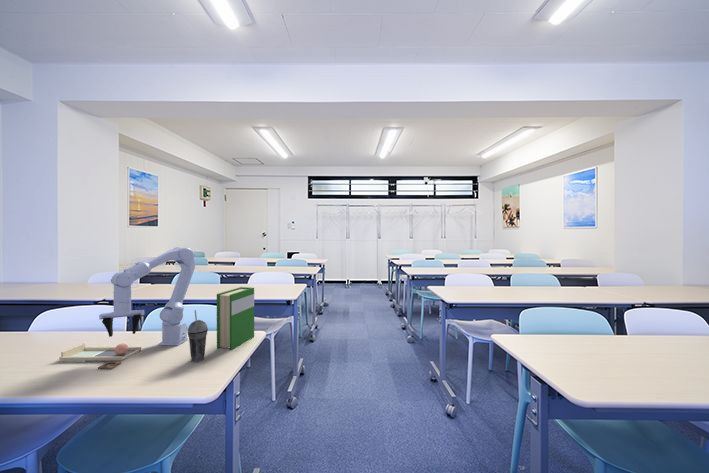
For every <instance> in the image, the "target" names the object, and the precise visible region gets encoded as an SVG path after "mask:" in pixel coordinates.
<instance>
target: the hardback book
mask: <svg viewBox="0 0 709 473" xmlns="http://www.w3.org/2000/svg"><path fill="white" fill-rule="evenodd" d="M253 338H255V287H243V286H239V287H236V288H233V289H229V290H226V291H223V292H218V293H216V350H219V348H220V349H222V348H227V349H229V351H233V350H235V349H236V348H238V347H240V346H242V345H243V344H245V343H247V342H249V340H251V339H253Z"/></svg>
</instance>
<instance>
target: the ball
mask: <svg viewBox="0 0 709 473" xmlns="http://www.w3.org/2000/svg"><path fill="white" fill-rule="evenodd" d="M115 347H116V348H115V353H116V354H117V355H123V354H125V353H126V352H127V351H128V347H129V346H128V344H126V343H119V344H117V345H116V346H115Z"/></svg>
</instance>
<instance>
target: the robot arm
mask: <svg viewBox="0 0 709 473" xmlns="http://www.w3.org/2000/svg"><path fill="white" fill-rule="evenodd" d="M195 256H196V254H195V252H194V251H193V250H192V249H191V248H190V247H174V248H172V249H168V250H167V251H165V252H164V253H161V254H160V255H157V256H156V257H154V258H153V259H151V260H149V261H147V262H144V261H137V262H135V263H134V265H132V266H130V267H128V268H123V271H118V272H115V273H114V274H113V276H112V277H111V279H110V283H111V284H112V285H113V293H112V294H113V311H111V312H105V313H104V312H103V313H100V314H99V315H98V317H99V320H100V321H101V320H102V321H101V322H102V324H103V326H104V327H105V329H106V331H107V333H108V337H109V338H110V337H113V335H114V331H113V330H114V329H113V328H114V327H113V325H114V324H113V323H114V319H115V318H126V317H132V318H131V320H132V335H135V334H136V332H137V328H138V325H139V322H140V320H141V318H142V316H144V315H145V309H133V310H132V285H133V283H134V282H135V281H137V280H139V279H141V278H142V277H145V276H146V275H148V274H150V273H151V271H152V269H154V268H156V267H158V266H160V265H163V264H164V263H167V262H169V261H175V263H177V264H178V265H179V267H180V268H181V269H180V271H179V274H178V276H177V280H176V283H175V285H174V288H173V290H172V293H171V297H170V299H169V301H168V302H167V303H166V304H165V305H164V307H163V308H162V309H161V310H160V313H159V319H160V320H161V321H162V323H161V335H162V337H161V342H160V343H157V346H179V345H182V343H184V342H186V341H188V339H189V337H188V333H187V332H188V326H187V324H186V323H183V322H182V321H183V318H184V309H185V308H184V304H183V302H184V300H185V296H186V294H187V291H188V288H189V286H190V283H191V281H192V280H191V279H192V277H193V274H194V272H195V269H196V264H195Z"/></svg>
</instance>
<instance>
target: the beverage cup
mask: <svg viewBox="0 0 709 473" xmlns="http://www.w3.org/2000/svg"><path fill="white" fill-rule="evenodd" d="M194 317H195V320H194V321H192V322H191V323H190V324H189V326H188V327H187V338H188V339H189V340H188V341H189V353H190V359H191V360H190V361H191V362H193V363H197V362H202V361H203V360H204V359H205V355H206V354H205V353H206V346H207V335H208V330H209V329H208V325H207V323H206V322H205V321H203V320H201V319H198V316H197V310H196V309H195V310H194Z"/></svg>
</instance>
